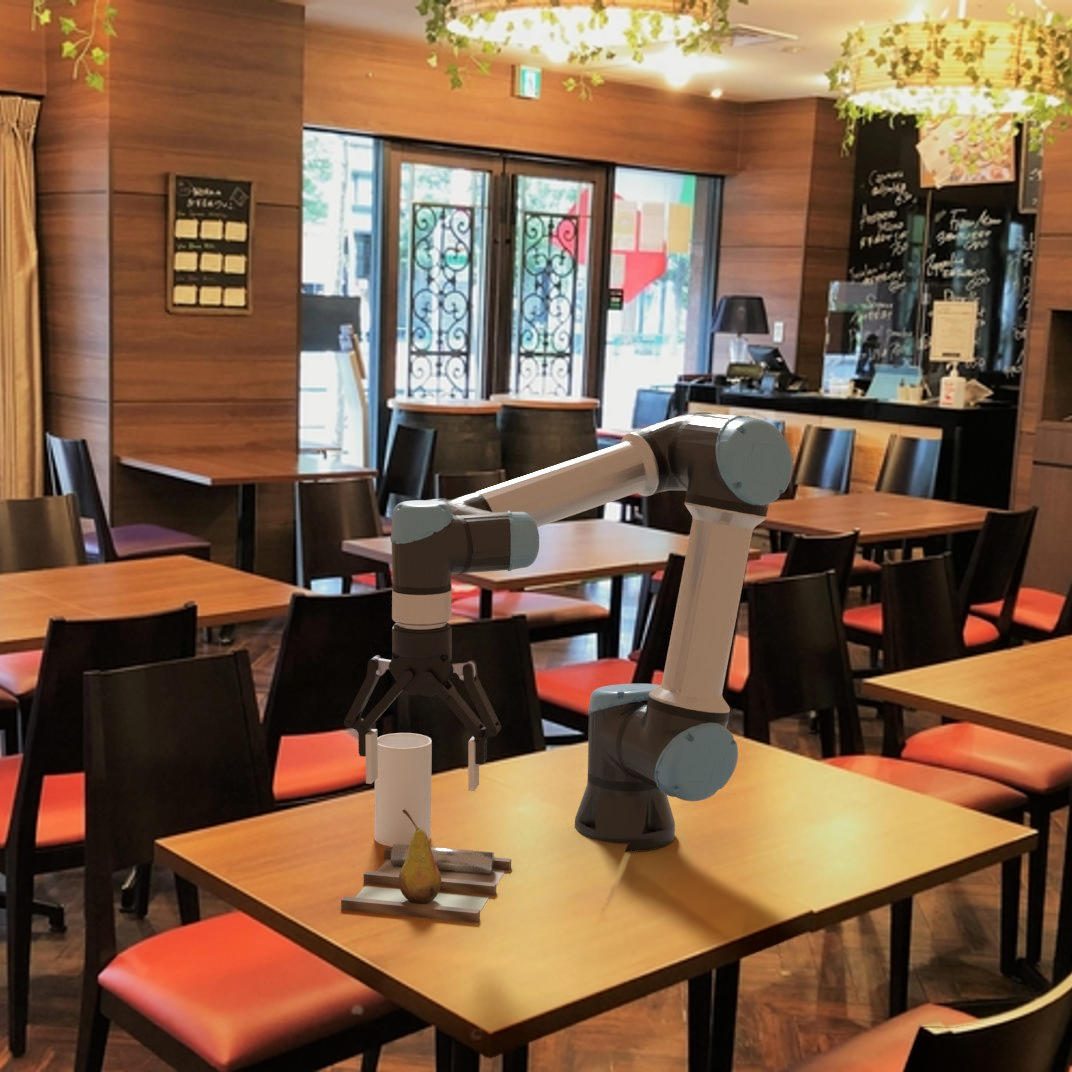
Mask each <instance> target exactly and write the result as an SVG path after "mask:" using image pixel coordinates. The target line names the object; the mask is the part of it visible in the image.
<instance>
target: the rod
mask: <svg viewBox="0 0 1072 1072" xmlns="http://www.w3.org/2000/svg"><path fill="white" fill-rule="evenodd" d="M430 847H431V851H432V854H433V858H434V860H435V864H436V866H437V868H438V870H447V871H458V872H468V873H479V874H490V875H492V873H493V870H495V869H494V863H495V853H494V852H493V851H482V850H471V849H460V848H449V847H440V846H439V847H436V846H430ZM391 848H392V851H391V864H392V865H393V866H403V865H404V863H405V861H406V859H407V856H408V854H409V850H410V845H406V844H394V845H393V847H391Z"/></svg>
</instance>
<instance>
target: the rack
mask: <svg viewBox="0 0 1072 1072" xmlns="http://www.w3.org/2000/svg"><path fill="white" fill-rule="evenodd" d="M383 851H384V852H383V855H384V856H383V859H384V862H383V864H382V865H381V866H380V867H379V869H378V870H376V871H372V870H366V871H365V872H364V873H363V884H365V885H364V886H363V887H362V888H361V890H360V891H359V892H358V893H357V894H356V895H355V896H354V897H353V896H352V897H351V896H343V897H342V898H341V900H340V901H341V902H340V907H341V908H340V910H342V911H343V910H344V911H354V912H365V913H373V914H375V913H376V914H383V915H384V914H385V915H395V916H405V917H413V918H414V917H415V918H424V919H435V920H444V921H445V920H446V921H456V922H464V923H475V924H478V923H479V922H480V918H481V912H482V910H483V908H484V907H485V905H486V903H487V902H488V900H489V899H490V897H489V896H495V895H496V894H497V885H498V884H499V882H500V881H501V879H502V878H503V876H504V874H505V872H506V871H510V870H511V869H512V858H507V857H495V863H494V870H493V873H492V875H490V874H479V873H468V872H458V871H447V870H439V872H440V875H441V887H440V890H439V893H438V894H437V896H436V897H435V898H434V900H432V901H431V902H429V903H426V904H416V903H413V902H410V901H409V900H407V899H406V898H405V897H404V895H403V894H402V892H401V890H400V888H396V887H399V874H400V871H401V869H402V867H403V866H393V865H392V864H391V851H392V847H385V848H384V850H383ZM366 884H369V885H366ZM374 885H375V886H374ZM376 885H378V886H376ZM379 885H381V886H379ZM385 886H391V887H385ZM440 891H443V892H440ZM449 892H452V893H449ZM453 892H455V893H453ZM459 893H464V894H459ZM470 894H471V895H470ZM472 894H474V895H472ZM479 895H482V896H479ZM483 895H485V896H483Z"/></svg>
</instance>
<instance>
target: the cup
mask: <svg viewBox="0 0 1072 1072" xmlns="http://www.w3.org/2000/svg"><path fill="white" fill-rule="evenodd" d="M377 742H378V778H377V779H376V780H375V781H374V822H373V823H374V828H373V829H374V837H373V838H374V840H375V842H377V843H378V844H380V845H382V846H385V847H386V846H387V847H390V848H392V847H393V845H394V844H406V845H411V841H412V838H413V835H414V832H415V831H416V828H415V826H414V825H413V823H412V821H411V820H410V819H409V818H408V816H407V815H406V814H405V813H404V812H403V810H406V811H407V812H408V814H409V815H410V816H411V818H412V820H413V821H414V823H415V824H416V826H417V827H418V828H420V829H423V830H424V831H425V833H426V834H427V837H428V839H429V841H430V840H431V838H432V837H431V836H432V830H431V827H432V758H433V757H432V755H433V754H432V751H433V749H432V747H433V745H432V744H433V743H432V738H431V737H429V736H428V735H423V734H420V733H412V732H396V733H387V734H383V735H380V736H377Z"/></svg>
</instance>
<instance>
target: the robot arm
mask: <svg viewBox="0 0 1072 1072" xmlns="http://www.w3.org/2000/svg"><path fill="white" fill-rule="evenodd" d="M792 474H793V455H792V452H791V448H790V446H789V442H788V441H787V440H786V439H785V436H784V435H783V433H782V432H781V431H780V430H779V429H778V428H777V427H776V426H775V425H773V424H772V423H770V422H768V421H765V420H762V419H759V418H755V417H752V416H750V415H749V416H748V415H747V416H744V415H733V414H732V415H731V414H718V413H711V412H691V413H686V414H685V413H684V414H680V415H678V416H675V417H671V418H669V419H665V420H663V421H660V422H657V423H654V424H652V425H649V426H646V427H643V428H640V429H638V430H634V431H632V432H629V433H626V434H624V435H623V437H622V439H621V440H620V443H617V444H615V445H612V446H609V447H606V448H603V449H602V448H601V449H600V450H597V451H594V452H590V453H588V454H585V455H582V456H580V457H579V456H578V457H576V458H573V459H570V460H566V461H564V462H561V463H558V464H555V465H552V466H549V467H546V468H544V469H540V470H537V471H534V472H532V473H529V474H526V475H523V476H520V477H516V478H513V479H510V480H508V481H505V482H501V483H499V484H496V485H493V486H489V487H487V488H484V489H481V490H478V491H475V492H472V493H468V494H465V495H461V496H459V497H455V498H453V499H448V498H442V497H441V498H432V499H426V500H424V499H417V500H416V499H415V500H407V501H405V500H404V501H402V502H399V503H398V504H396V505H395V507H393V510H392V518H391V532H390V533H391V534H390V542H391V569H392V573H391V574H392V584H391V585H392V587H391V589H392V590H391V591H392V593H391V594H392V595H391V599H392V600H391V605H392V606H391V619H392V621H393V622H395V623H394V624H393V626H392V629H391V631H392V632H391V633H392V636H391V637H392V638H391V641H392V649H391V650H392V651H391V652H392V657H391V659H386V658H383V657H382V656H381V655H379V654H378V655H377V654H376V655H375V656H373V657H372V658H370V659H369V660H368V661H367V662H368V663H367V669H366V676H365V678H364V680H363V682H362V684H361V686H360V688H359V691H358V693H357V695H356V697H355V698H354V701H353V703H352V704H351V707H350V708H349V710H348V713H347V715H346V717H345V718H344V721H343V725H344V727H345V728H349V729H354V730H355V731H356V732H357V733H358V734H357V735H358V754H359V756H360V757H365V784H370V785H372V784H373V783H375V780H376V779H377V778H378V742H377V738H378V729H377V728H371V727H373V726H374V724H376V722H377V721H378V719H379V718H381V716H382V715H383V714H384V712H385V711H386V710H387V709H388V708H389V707H390V706H391V705H392V704H393V702H394V701H396V699H397V698H398V696H399V695H401V693H403V692H404V693H406V694H407V695H408V696H417V695H418V696H419V695H420V696H424V697H431V698H432V697H433V696H436V695H437V696H438V697H439V698H440V699H441V701H443V702H445V703H446V705H447V706H448V707H449V708H450V710H451V711H452V712H453V713H454V714H455V716H456V717H457V719H458V720H459V721H460V723H462V724H463V726H464V727H465V728H466V730H467V731H468V732H469V733H470V734H471V738H470V739H469V740H468V747H467V748H468V749H467V751H468V758H467V759H468V761H467V762H468V763H467V765H468V771H467V772H468V775H467V776H468V777H467V778H468V789H467V790H468V791H470V792H474V791H476V789H477V788H478V787H479V785H480V765H484V763H485V762H486V760H487V759H488V758H487V757H488V755H487V754H488V745H487V743H488V742H487V741H488V738H495V737H497V736H498V734H499V733H500V731H501V730H502V725H501V722H500V721H499V719H498V717H497V714H496V713H495V711H494V708H493V706H492V704H491V702H490V700H489V698H488V696H487V693H486V690H485V689H484V688H483V685H482V684H481V680H480V679H479V678H478V677H479V676H478V668H477V663H476V661H475V660H473V659H471V660H468V661H467V662H459V663H455V662H454V661H453V658H452V647H453V646H452V645H453V644H452V637H453V636H452V625H451V623H449V622H450V621H451V620H452V582H453V579H452V578H453V577H452V576H453V575H462V574H468V573H469V574H470V573H472V574H473V573H484V572H485V573H486V572H497V571H507V572H512V570H519V569H525V568H529V567H530V566H532V565H533V564H534V562H535V561H536V559H537V557H538V555H539V551H540V534H539V533H540V532H539V529H538V528H540V527H544V526H545V525H548V524H552V523H554V522H557V521H560V520H563V519H565V518H568V517H572V516H575V515H577V514H581V513H583V512H586V511H588V510H591V509H595V508H597V507H601V506H603V505H606V504H609V503H612V502H613V501H614V502H615V501H618V500H620V499H622V498H626V497H628V496H632V495H635V494H638V495H640V496H642V497H649V496H652V495H656V494H658V493H662V492H668V491H681V492H682V491H686V493H685V494H686V495H685V499H684V505H685V507H686V509H687V510H688V511H689V513H690V515H691V516H692V517H691V518H692V521H691V527H690V530H689V538H688V541H687V542H688V543H687V548H686V553H685V558H684V559H685V560H684V564H683V570H682V574H681V580H680V586H679V591H678V594H677V595H678V596H677V600H676V607H675V612H674V617H673V622H672V623H673V624H672V629H671V632H670V633H671V634H670V639H669V644H668V649H667V655H666V660H665V665H664V670H663V675H662V679H661V680H662V682H661V683H660V684H656V683H620V684H610V685H604V686H600V687H597V688H596V689H595V690H593V691H592V693H591V694H590V698H589V705H588V712H587V715H588V737H587V738H588V744H587V745H588V746H587V747H588V748H587V781H586V787H585V789H584V792H583V796H582V798H581V801H580V804H579V806H578V809H577V812H576V815H575V818H574V829H575V830H576V831H577V832H578V833H579V834H581V835H583V836H585V837H587V838H590V839H592V840H595V841H600V842H605V843H611V844H619V845H626V847H625V849H624V852H645V851H651V850H652V851H653V850H656V849H660V848H664V847H665V846H668V845H670V844H671V843H672V842H673V841H674V840H675V837H676V836H675V835H676V823H675V819H674V818H675V817H674V815H673V812H672V808H671V804H670V800H669V798H668V796H669V797H671V798H677V799H680V800H682V801H686V802H700V801H704V800H707V799H708V798H709V799H710V798H711V797H712V796H714V795H716V793H717V792H718V791H719V790H722V789H723V788H724V787H725V786H726V785H727V784H728V782H729V781H730V780H731V778H732V776H733V774H734V772H735V771H736V770H735V769H736V768H737V763H738V757H739V749H738V743H737V741H736V740H735V739H734V735H733V734H732V732H731V731H730V730H729V729H728V728H727V726H728V723H729V717H730V711H731V708H730V706H729V704H728V703H727V701H726V700H725V699H724V697H723V690H724V685H725V679H726V675H727V669H728V664H729V659H730V652H731V647H732V643H733V637H734V633H735V632H734V631H735V628H736V627H735V626H736V622H737V621H736V620H737V617H738V612H739V607H740V606H739V605H740V601H741V595H742V589H743V584H744V579H745V574H746V569H747V563H748V559H749V552H750V546H751V542H752V536H753V532H754V529H755V528H756V527H757V526H758V525H760V524H761V523H763V522H764V521H766V520H767V516H768V512H769V506H770V504H771V503H773V502H774V501H776V500H778V499H779V498H780V495H781V494H783V493H785V492H786V490H787V489H788V486H789V483H790V481H791V479H792ZM387 670H389V672H390V673H391V675H392V676H393V677H394V679H395V683H394V684H393V685H392V686H391V687H390V689H389V690H388V691H387V692H386V693H385V694H384V696H383V697H382V698H381V699H380V700H379V701H378V702H377V704H376V705H375V706H374V707H372V710H371V711H370V712H369V713H367V715H366V716H365V717H364V718H362V717H361V716H362V713H363V711H364V710H365V708H366V706H367V704H368V701H369V700H370V698H371V696H372V695H373V694H372V693H373V691H374V689H375V687H376V685H377V684H378V681H379V679H380V677H381V676H383V675H384V674H386V671H387ZM454 673H455V674H456V675H458V678H459V679H460V680H461V681H463V683H464V685H465V689H466V691H467V693H468V695H469V697H470V698H471V701H472V703H473V705H474V708H475V709H476V711H477V714H478V715H479V717H480V718H478V716H477V714H475V712H474V711H473V710H472V708H471V707H470V706H469V705H468V703H467V702H466V701H465V700H464V699H463V697H462V696H461V695H460V694H459V692H458V691H457V688H456V686H455V685H454V684H453V682H452V681H450V679H451V677H452V676H453V675H454Z"/></svg>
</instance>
